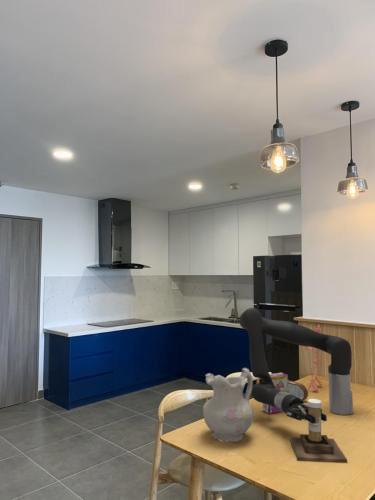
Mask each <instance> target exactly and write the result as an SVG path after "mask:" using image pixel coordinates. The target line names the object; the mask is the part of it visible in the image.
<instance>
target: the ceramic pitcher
mask: <svg viewBox="0 0 375 500" xmlns="http://www.w3.org/2000/svg"><path fill="white" fill-rule="evenodd" d="M245 379H247V387H246V390H245V395H244V394H243V392H244V389H245V385H246V380H245ZM253 379H254V378H253V374H252V372H250V369H249V368H248V367H242V368H241V373H240V375H239V376H230V377H227V378H226V377H224V376H222V375H220V374H217V375H214V374H213V373H210V372H209V373H206V374H205V382H206V384H207V385H209V386H211V387H212V391H213V395H212V396H211V398H210V399H208V400H207V401H206V402H205V403H204V405H203V406H202V407H203V408H202V414H203V415H202V416H203V419H204V423H205V425H206V426H207V427H208V429H209V430H210V431H212V432H213V433H212V434H211V435H210V438H212V439H214V440H218V441H220V442H221V441H222V442H224V443H239V442H241V441H242V440H243V439H244V433H247V431H248V430H249V429H250V427H251V426H252V423H253V421H254V415H255V412H254V409H253V406H252V405H251V404H250V396H252V394H251V391H252V386H253V385H254V383H253V382H254V380H253Z"/></svg>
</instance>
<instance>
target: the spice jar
mask: <svg viewBox="0 0 375 500" xmlns="http://www.w3.org/2000/svg"><path fill="white" fill-rule="evenodd" d="M307 405H308V414H310V415H312V416H314V417H315V418H316V423H314V424H313V423H311V422H309V421H307V425H308V427H307V428H308V434H309V436H308V438H309V439H310V440H311V441H315V442H318V441H321V440H322V438H321V435H322V420H321V409H322V400H320V399H317V398H309V399H307Z"/></svg>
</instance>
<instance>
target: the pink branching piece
mask: <svg viewBox="0 0 375 500" xmlns="http://www.w3.org/2000/svg"><path fill="white" fill-rule="evenodd" d="M315 332H318V333H322V328H321V326H320V324H318V325H317V327H316V328H315ZM304 348H305V351H307V350H309V351H313V350H315V359H313V361H312V363H313V365H312V367H311V368H310V369H311V373H313V368H314V372H315V373H314V374H315V375H314V378H313V374H311V379H310V384H309V385H308V387H307V391H309V390H310V388H311V387H313V389H314V390H315V391H316V392H317V393H319V387H318V385H317V384H316V381H317V382H318V383H319V385H320V386H321V387H322V386H323V385H322V384H321V382H320V380H319V378H318V376H317V373H316V372H317V371H316V365H318V364H319V360H318V349H317V348H314V347H307V346H304Z"/></svg>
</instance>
